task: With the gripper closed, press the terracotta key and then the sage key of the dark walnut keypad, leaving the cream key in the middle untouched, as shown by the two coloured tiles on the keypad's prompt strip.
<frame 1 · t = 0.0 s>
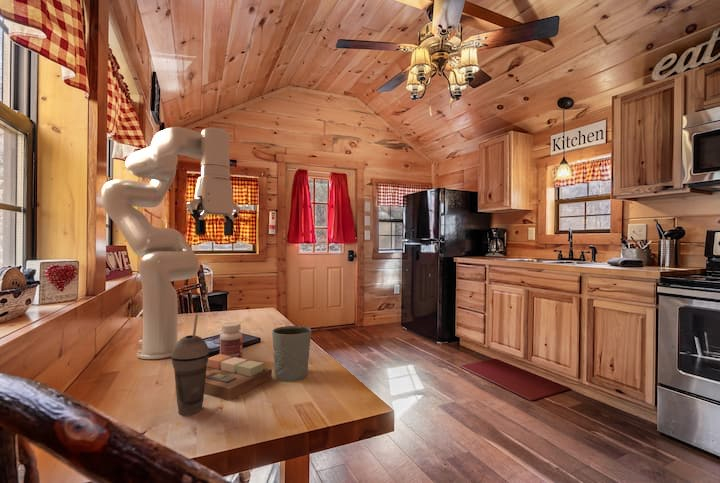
hand: (215, 235, 104), 37 cm above the table, tool pointing down, fingers open, 9 cm apart
grey green cup: (291, 375, 98), on the table
beverage cup: (190, 411, 78), on the table
keypad board: (224, 382, 93), on the table
key cream: (234, 364, 96), point 3 cm above the table, slide at 0.0 cm
key sage: (250, 368, 93), point 3 cm above the table, slide at 0.0 cm
pill bottle: (231, 364, 107), on the table
key terracotta: (218, 361, 98), point 3 cm above the table, slide at 0.0 cm
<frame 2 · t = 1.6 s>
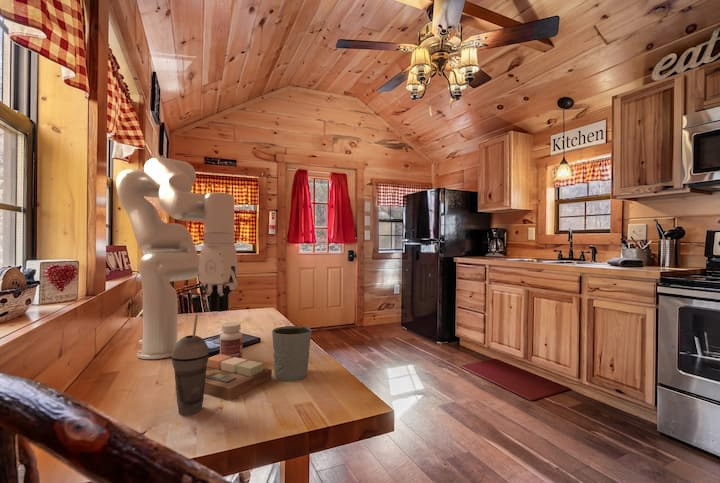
hand: (219, 309, 98), 17 cm above the table, tool pointing down, fingers closed
nothing on the table moved.
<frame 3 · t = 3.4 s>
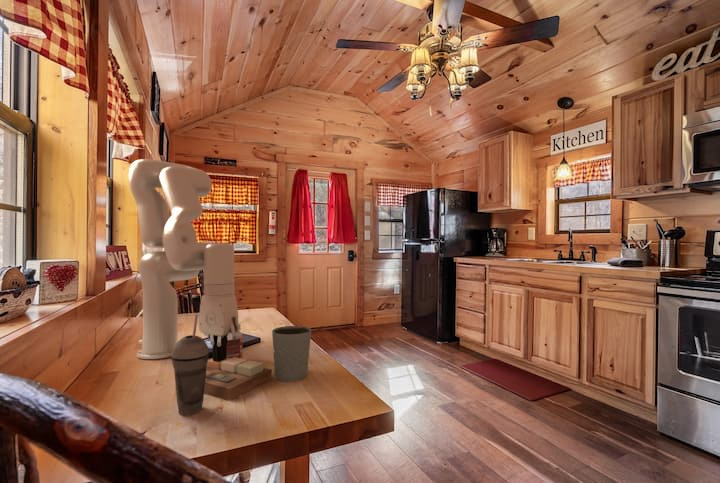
hand: (219, 359, 98), 4 cm above the table, tool pointing down, fingers closed
key terracotta: (218, 363, 98), point 3 cm above the table, slide at 0.6 cm, touching gripper
everything else where it was.
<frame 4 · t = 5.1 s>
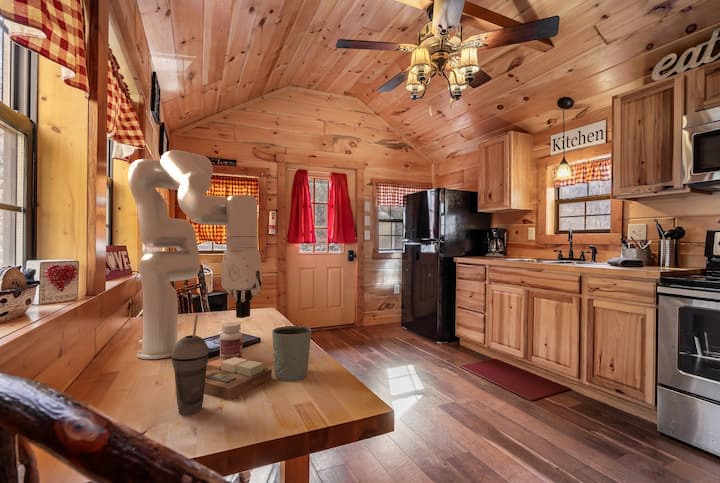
hand: (243, 316, 94), 16 cm above the table, tool pointing down, fingers closed
key terracotta: (218, 366, 98), point 2 cm above the table, slide at 1.4 cm
everything else where it was.
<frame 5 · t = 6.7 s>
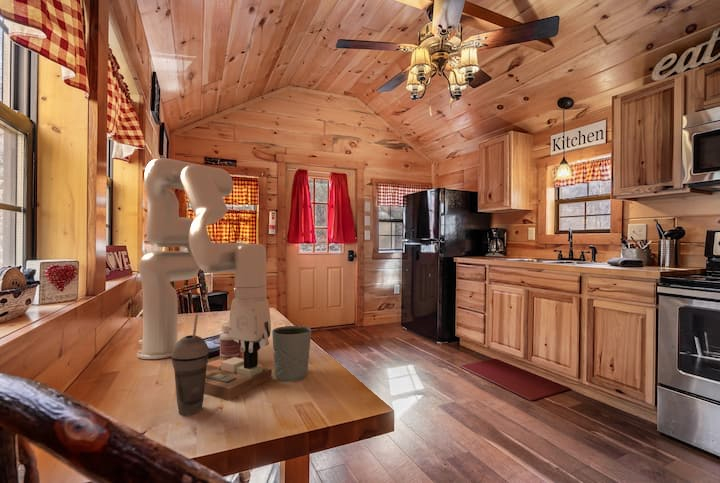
hand: (250, 366, 93), 4 cm above the table, tool pointing down, fingers closed
key sage: (250, 370, 93), point 3 cm above the table, slide at 0.6 cm, touching gripper
everything else where it was.
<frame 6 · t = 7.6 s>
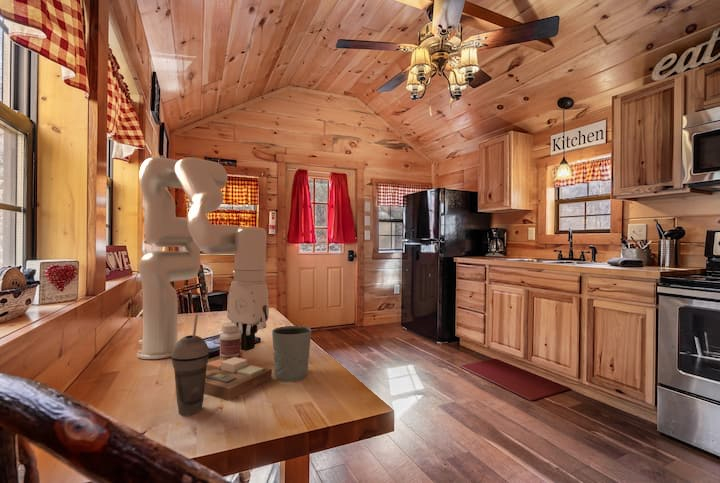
hand: (247, 349, 94), 8 cm above the table, tool pointing down, fingers closed
key sage: (250, 373, 93), point 2 cm above the table, slide at 1.3 cm
everything else where it was.
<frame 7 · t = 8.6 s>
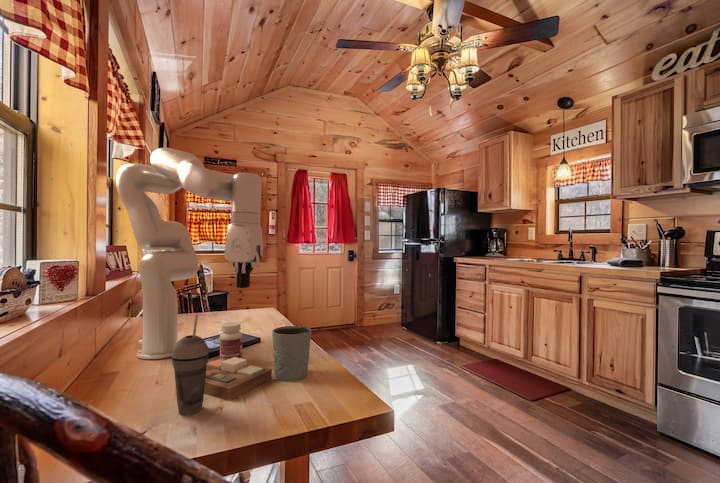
hand: (242, 287, 101), 23 cm above the table, tool pointing down, fingers closed
nothing on the table moved.
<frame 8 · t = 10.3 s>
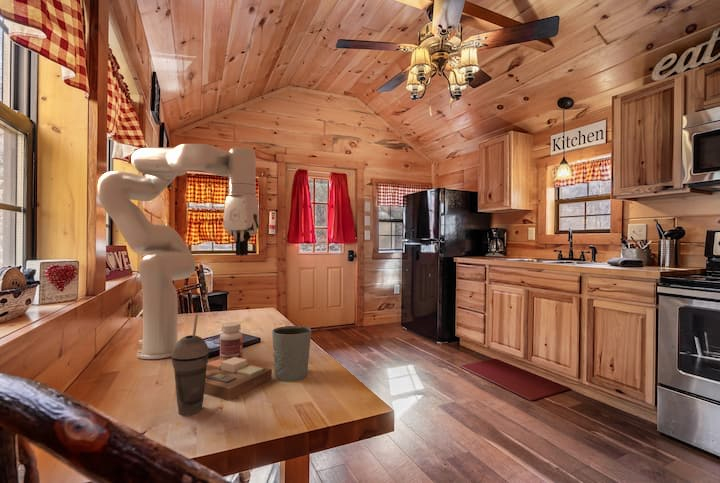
hand: (241, 255, 108), 31 cm above the table, tool pointing down, fingers closed
nothing on the table moved.
at the end: key terracotta slide at 1.4 cm; key sage slide at 1.3 cm; key cream slide at 0.0 cm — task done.
